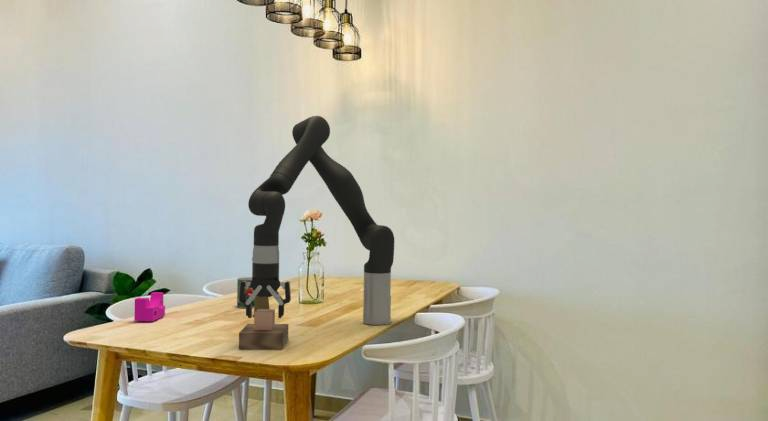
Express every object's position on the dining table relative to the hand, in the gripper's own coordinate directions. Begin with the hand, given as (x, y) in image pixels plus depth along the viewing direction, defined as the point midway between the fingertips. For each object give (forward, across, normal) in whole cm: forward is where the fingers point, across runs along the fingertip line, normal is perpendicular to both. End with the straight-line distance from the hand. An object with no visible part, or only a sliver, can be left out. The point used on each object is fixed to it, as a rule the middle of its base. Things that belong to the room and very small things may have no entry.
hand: (264, 317), depth 159 cm
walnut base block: (+8, 0, 0) cm, 8 cm away
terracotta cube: (+3, 0, 0) cm, 3 cm away
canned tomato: (+8, +17, -61) cm, 64 cm away
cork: (+8, +8, -42) cm, 43 cm away
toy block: (+8, +46, -40) cm, 61 cm away
